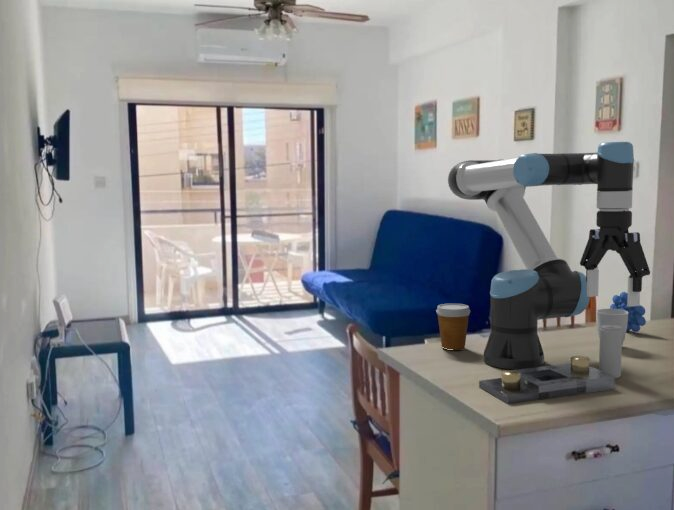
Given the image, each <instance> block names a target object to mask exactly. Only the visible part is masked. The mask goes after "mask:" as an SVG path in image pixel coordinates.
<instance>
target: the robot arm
mask: <svg viewBox="0 0 674 510" xmlns="http://www.w3.org/2000/svg"><path fill="white" fill-rule="evenodd" d="M634 164H635V156H634V145H633V143H632V142H630V141H608V142H606V141H605V142H601V143H600V144H598V147H597V151H596V152H581V153H580V152H579V153H578V152H577V153H576V152H575V153H568V152H567V153H566V152H563V153H537V152H532V153H523V154H521V155H519V156H517V157H513V158H506V159H503V158H501V159H497V160H496V159H495V160H490V159H487V160H486V159H484V160H477V159H476V160H473V159H472V160H464V161H461V162H458V163H457V164H456V165H454V166H453V167H452V168H451V169H450V171H449V172H448V173H449V174H448V177H447V183H448V187H449V189H450V191H451V192H452V194H454V195H455V196H457V197H458V198H460V199H463V200H468V201H469V200H472V201H473V200H474V201H475V200H477V201H479V200H484V202H485V204H486V206H487V208H488V209H489V210H490V211H493V212H496V214H497V216H498V218H499V219H500V221H501V224H502V225H503V227H504V229H505V231H506V232H507V234H508V236H509V238H510V241H511V243H512V245H513V247H514V248H515V250H516V252H517V253H518V255H519V258H520V260H521V262H522V263H523V266H524V267H525V269H523V268H522V269H518V270H517V269H512V270H507V271H501V272H499V273H497V274H495V275H494V276H493V277H492V279H491V283H490V291H489V294H490V332H489V336H488V339H487V341H486V344H485V348H484V351H483V362H484V363H485V364H487V365H489V366H491V367H494V368H495V367H496V368H500V369H507V370H519V369H527V368H535V367H543V366H544V365H545V353H544V350H543V349H544V348H543V347H542V343H541V340H540V337H539V334H538V324H539V323H538V321H539V320H549V319H555V318H556V319H557V318H558V319H559V318H570V317H573V316H579V315H580V314H582V313H583V312H585V310H586V309H587V308H588V305H589V303H590V300H591V298H592V297H599V280H600V279H599V276H600V275H599V273H600V271H599V264H600V263H601V261H602V260H603V258H604V256H605V255H606V253H607V252H608V251H612V252H616V253H617V254H619V256H620V258H621V259H622V261H623V265H625V267H626V269H627V271H628V273H629V276H627V293H628V297H627V306H629V307H631V306H640V305H641V303H640V301H641V292H642V289H643V277H646V276H650V275H651V271H650V267H649V264H648V261H647V258H646V255H645V252H644V250H643V249H644V248H643V246H642V243H641V234H640V232H639V231H637V232H629V228H630V227H632V225H633V221H632V220H633V212H632V210H630V209H631V208H633V188H634V187H633V185H634ZM569 185H570V186H577V185H579V186H582V185H596V186H597V188H596V208H597V209H598V211H597V212H596V223H595V224H596V226H597V227H598V228H593V229H590V230H589V232H588V233H589V235H588V238H587V239H588V240H587V243H586V245H585V248H584V250H583V253H582V256H581V259H580V261H579V265H580V266H581V267H583V268H585V270H586V272H585V274H584V273H583V272H580V271H578V270H572V269H571V268H570V266H569V264H568V262H567V261H566V260H565V259H563V258H559V257H557V255H556V252H555V251H554V249H553V248H552V245H551V244H550V242H549V241H548V239H547V237H546V235H545V234H544V231H543V230H542V228H541V226H540V224H539V223H538V222H537V219H536V216H534V214H533V211H531V209H530V207H529V205H528V203H527V202H526V199H525V198H524V197H525V195H526V188H528V187H539V186H544V187H545V186H569Z"/></svg>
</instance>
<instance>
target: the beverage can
mask: <svg viewBox="0 0 674 510" xmlns="http://www.w3.org/2000/svg"><path fill="white" fill-rule="evenodd" d="M622 346H623V345H622V329H621V327H620V326H617V325H601V328H600V339H599V351H598V353H599V357H598V358H599V361H598V370H601V371H603V372H606V373H608V374H611V375H613V376H615V380H617V379H619V378H620V377H621V376H622V354H623V353H622V349H623V347H622Z"/></svg>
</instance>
